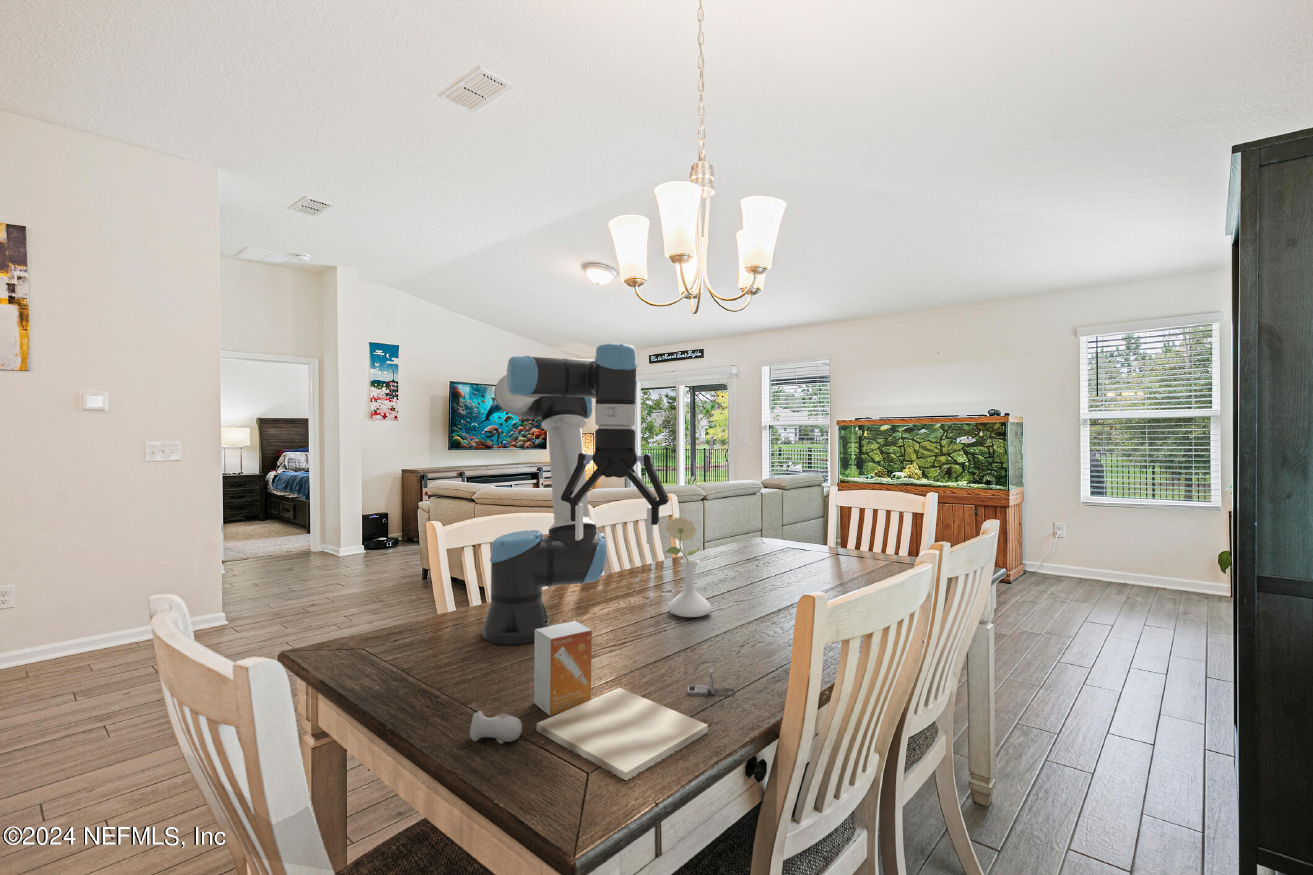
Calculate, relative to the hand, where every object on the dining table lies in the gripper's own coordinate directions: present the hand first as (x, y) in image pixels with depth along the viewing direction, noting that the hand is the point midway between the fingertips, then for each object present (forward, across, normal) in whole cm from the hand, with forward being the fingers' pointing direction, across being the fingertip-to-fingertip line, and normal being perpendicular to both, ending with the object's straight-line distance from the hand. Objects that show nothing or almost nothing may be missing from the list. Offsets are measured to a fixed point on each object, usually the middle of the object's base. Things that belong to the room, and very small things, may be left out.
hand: (614, 540), depth 113 cm
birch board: (+26, +6, -19) cm, 33 cm away
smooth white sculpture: (+27, -13, -24) cm, 38 cm away
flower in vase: (+28, +9, +44) cm, 53 cm away
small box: (+27, -6, -11) cm, 30 cm away
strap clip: (+27, +19, -2) cm, 33 cm away
